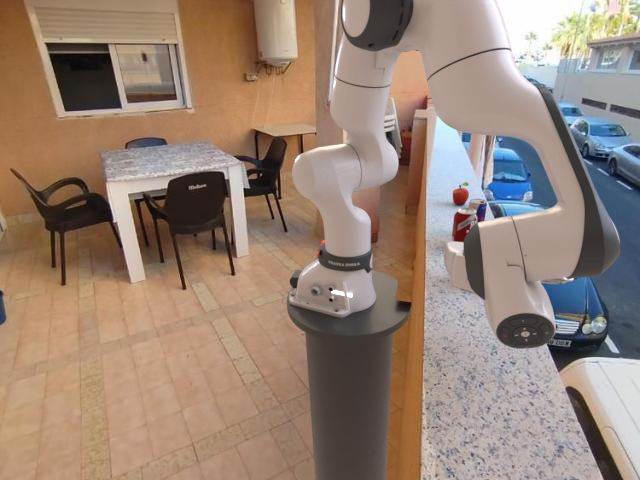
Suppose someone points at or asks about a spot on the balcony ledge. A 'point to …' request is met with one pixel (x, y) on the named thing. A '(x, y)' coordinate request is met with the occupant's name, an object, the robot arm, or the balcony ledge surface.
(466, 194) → the apple
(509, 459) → the balcony ledge surface
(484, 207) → the energy drink
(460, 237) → the soda can
